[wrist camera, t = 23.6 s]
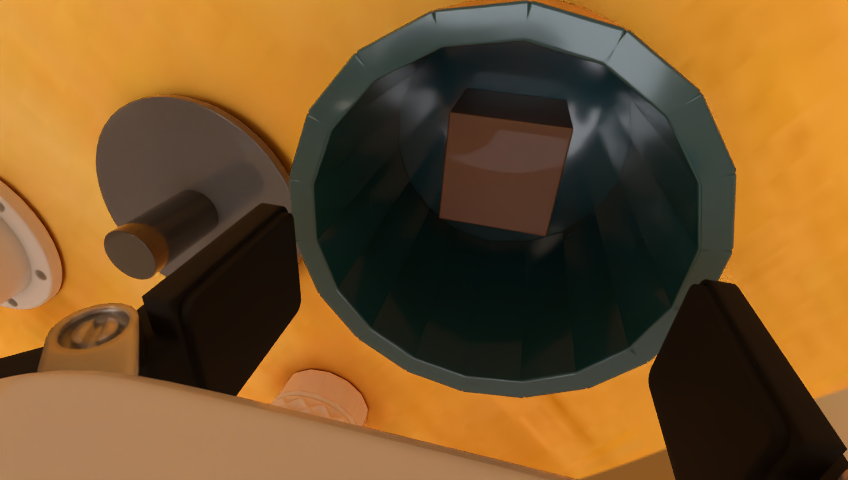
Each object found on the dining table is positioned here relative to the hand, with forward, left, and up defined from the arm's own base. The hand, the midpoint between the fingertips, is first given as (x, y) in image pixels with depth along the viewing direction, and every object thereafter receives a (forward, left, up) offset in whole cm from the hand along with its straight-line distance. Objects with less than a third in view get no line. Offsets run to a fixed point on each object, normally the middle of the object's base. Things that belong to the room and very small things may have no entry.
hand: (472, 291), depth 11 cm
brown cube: (0, 0, -12) cm, 12 cm away
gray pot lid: (-14, -12, -12) cm, 21 cm away
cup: (0, 0, -12) cm, 12 cm away
